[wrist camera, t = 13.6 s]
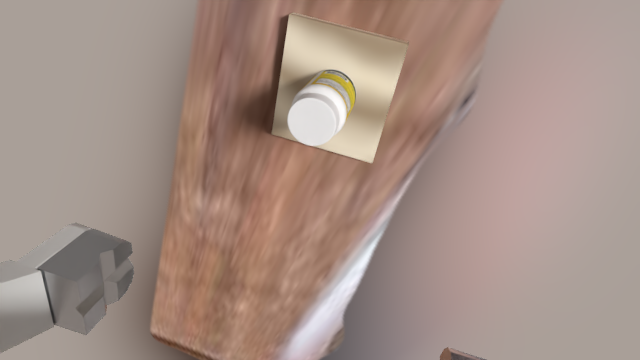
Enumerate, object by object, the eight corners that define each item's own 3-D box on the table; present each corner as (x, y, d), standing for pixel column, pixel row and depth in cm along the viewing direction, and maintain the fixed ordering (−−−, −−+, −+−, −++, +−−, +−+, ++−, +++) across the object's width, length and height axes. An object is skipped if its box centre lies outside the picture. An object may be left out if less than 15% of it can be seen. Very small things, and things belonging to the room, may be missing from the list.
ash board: (293, 12, 36) (289, 14, 35) (409, 41, 35) (408, 44, 34) (276, 129, 42) (271, 134, 41) (373, 157, 41) (372, 163, 40)
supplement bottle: (320, 122, 39) (296, 157, 32) (301, 78, 37) (271, 104, 30) (364, 107, 37) (349, 141, 30) (346, 60, 36) (326, 84, 28)
